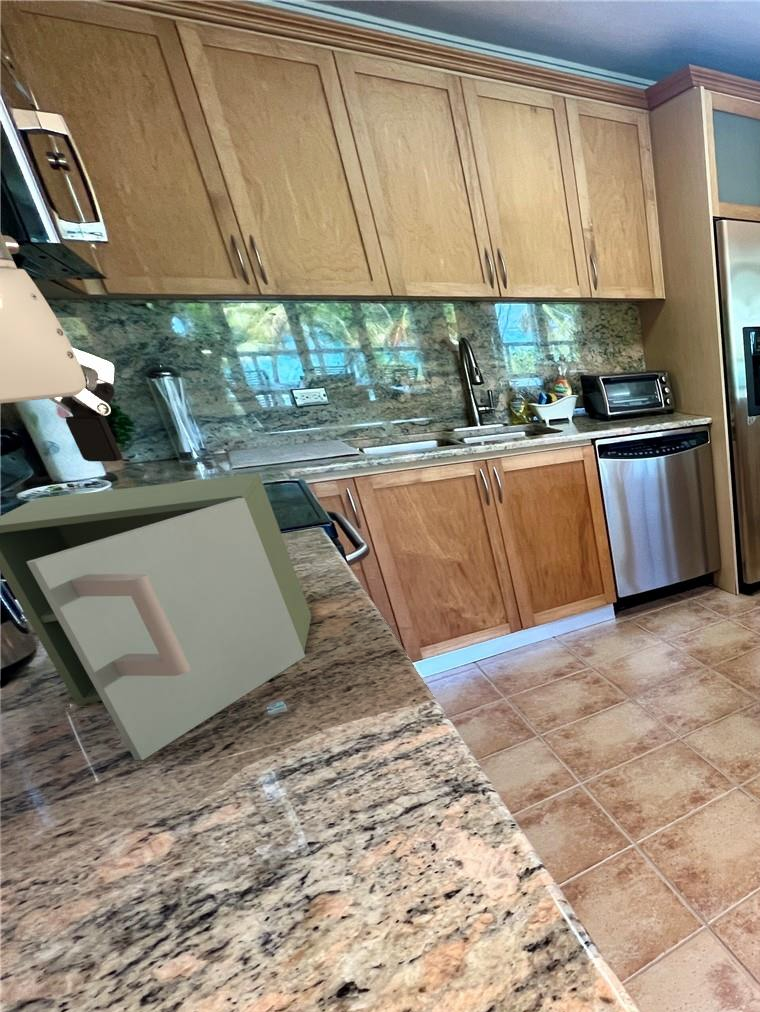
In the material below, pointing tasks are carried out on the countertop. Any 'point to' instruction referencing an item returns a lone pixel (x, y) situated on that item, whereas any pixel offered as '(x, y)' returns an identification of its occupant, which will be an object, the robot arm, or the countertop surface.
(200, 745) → the countertop surface
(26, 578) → the cupboard
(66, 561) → the door
